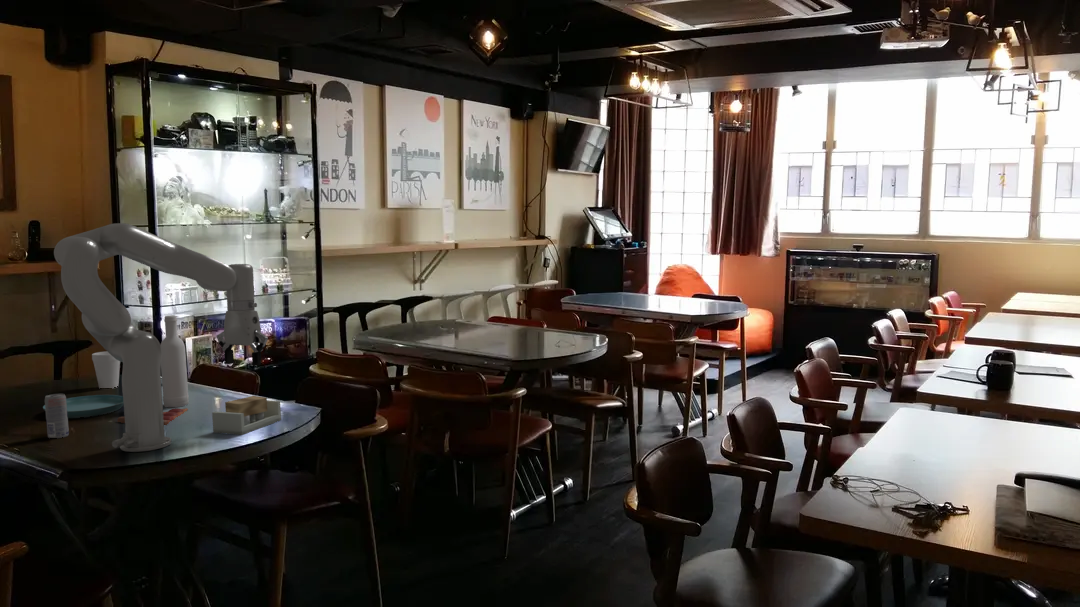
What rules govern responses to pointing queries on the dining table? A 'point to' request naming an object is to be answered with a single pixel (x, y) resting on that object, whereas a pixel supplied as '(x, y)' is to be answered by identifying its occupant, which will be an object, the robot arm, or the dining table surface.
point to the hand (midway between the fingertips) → (242, 364)
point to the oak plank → (247, 405)
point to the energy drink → (56, 416)
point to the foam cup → (106, 369)
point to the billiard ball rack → (164, 415)
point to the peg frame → (246, 420)
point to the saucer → (92, 405)
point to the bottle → (173, 366)
